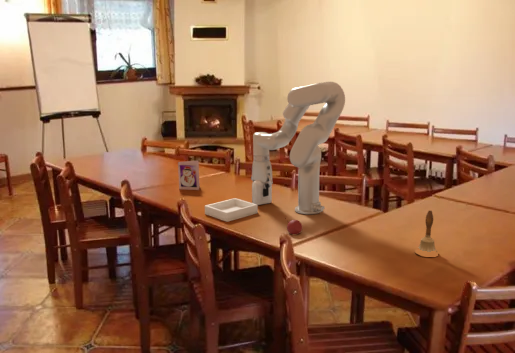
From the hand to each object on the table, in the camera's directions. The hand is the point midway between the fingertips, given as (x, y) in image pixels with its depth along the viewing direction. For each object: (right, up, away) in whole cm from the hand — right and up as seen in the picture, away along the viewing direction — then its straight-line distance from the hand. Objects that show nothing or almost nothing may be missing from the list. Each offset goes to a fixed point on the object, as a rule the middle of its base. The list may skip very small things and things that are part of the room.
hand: (261, 194), depth 247 cm
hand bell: (+58, -19, -65) cm, 89 cm away
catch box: (-14, -8, -14) cm, 22 cm away
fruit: (+12, -14, -40) cm, 44 cm away
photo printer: (0, -5, +1) cm, 5 cm away
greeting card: (-39, +2, +33) cm, 51 cm away
